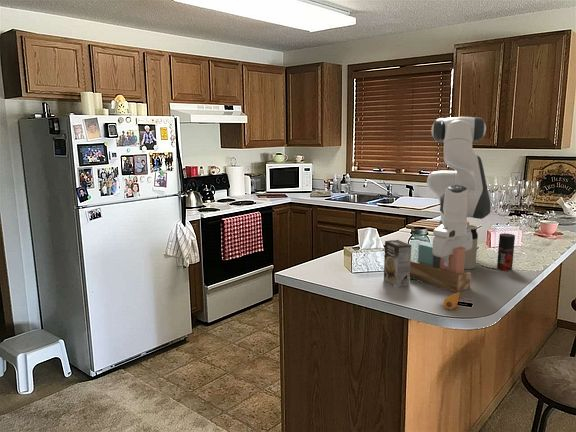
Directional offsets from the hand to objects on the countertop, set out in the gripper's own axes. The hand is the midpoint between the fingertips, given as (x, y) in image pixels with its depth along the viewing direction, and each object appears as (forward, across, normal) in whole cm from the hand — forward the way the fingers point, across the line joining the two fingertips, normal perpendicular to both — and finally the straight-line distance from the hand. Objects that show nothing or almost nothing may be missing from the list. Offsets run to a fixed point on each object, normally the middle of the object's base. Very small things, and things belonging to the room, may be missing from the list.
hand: (452, 264), depth 178 cm
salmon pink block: (+5, 0, 0) cm, 5 cm away
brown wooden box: (+8, +1, -5) cm, 10 cm away
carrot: (+9, +12, +11) cm, 19 cm away
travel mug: (+9, -26, -11) cm, 30 cm away
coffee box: (+9, +14, -15) cm, 22 cm away
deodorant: (+9, -36, +1) cm, 37 cm away
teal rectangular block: (+6, 0, -10) cm, 12 cm away
